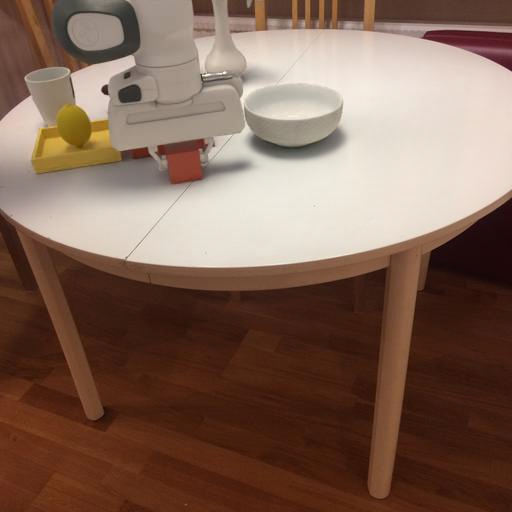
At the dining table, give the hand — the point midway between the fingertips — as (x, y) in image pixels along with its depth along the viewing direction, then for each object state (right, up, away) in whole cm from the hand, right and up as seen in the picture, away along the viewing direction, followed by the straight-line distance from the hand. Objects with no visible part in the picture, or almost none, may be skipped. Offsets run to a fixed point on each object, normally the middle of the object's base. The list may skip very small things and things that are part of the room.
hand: (183, 165), depth 83 cm
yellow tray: (-20, +4, +10) cm, 23 cm away
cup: (-27, +11, +20) cm, 35 cm away
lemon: (-20, +5, +10) cm, 23 cm away
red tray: (-4, +7, +13) cm, 15 cm away
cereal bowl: (+18, +6, +9) cm, 21 cm away
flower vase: (+6, +25, +35) cm, 44 cm away
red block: (0, -1, +1) cm, 2 cm away
